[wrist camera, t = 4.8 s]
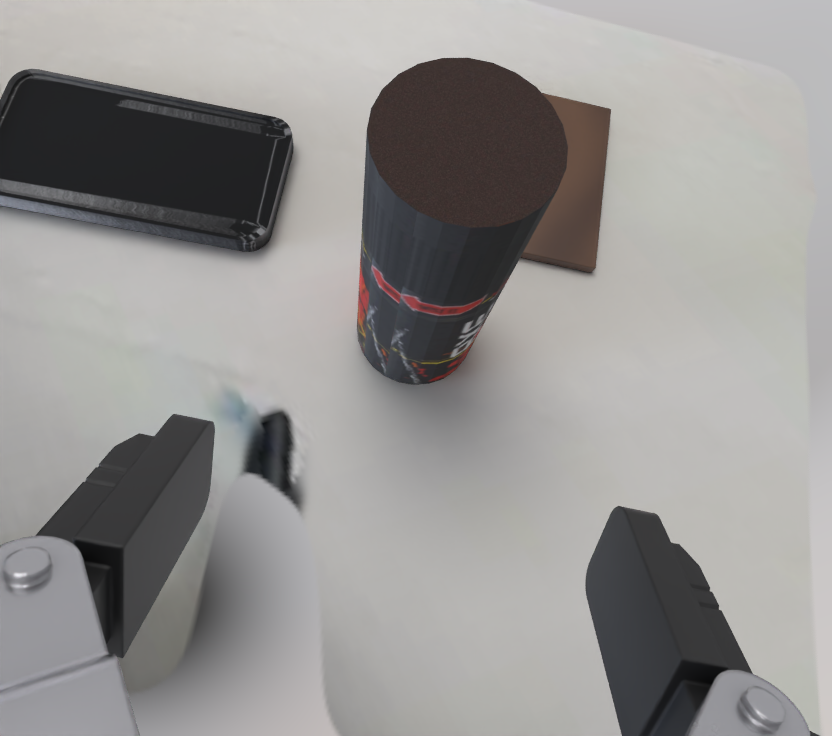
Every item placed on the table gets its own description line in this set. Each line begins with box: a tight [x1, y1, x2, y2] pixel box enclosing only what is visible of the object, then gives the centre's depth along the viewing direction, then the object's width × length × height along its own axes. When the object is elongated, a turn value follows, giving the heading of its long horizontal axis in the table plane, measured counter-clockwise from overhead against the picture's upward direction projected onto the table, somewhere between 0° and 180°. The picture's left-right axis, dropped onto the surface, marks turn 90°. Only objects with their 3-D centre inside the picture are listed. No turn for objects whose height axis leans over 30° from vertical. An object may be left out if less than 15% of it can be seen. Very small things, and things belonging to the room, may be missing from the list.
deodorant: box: [357, 58, 568, 384], centre depth 25 cm, size 6×6×15 cm
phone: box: [0, 69, 293, 252], centre depth 33 cm, size 8×1×15 cm
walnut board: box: [417, 64, 611, 273], centre depth 36 cm, size 12×11×1 cm
